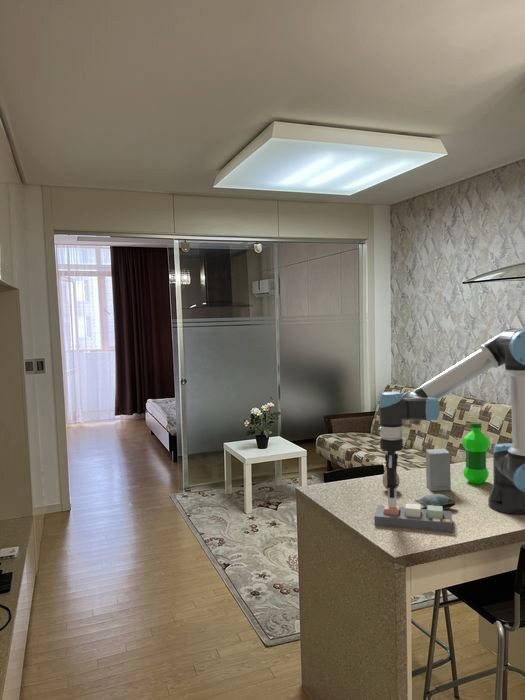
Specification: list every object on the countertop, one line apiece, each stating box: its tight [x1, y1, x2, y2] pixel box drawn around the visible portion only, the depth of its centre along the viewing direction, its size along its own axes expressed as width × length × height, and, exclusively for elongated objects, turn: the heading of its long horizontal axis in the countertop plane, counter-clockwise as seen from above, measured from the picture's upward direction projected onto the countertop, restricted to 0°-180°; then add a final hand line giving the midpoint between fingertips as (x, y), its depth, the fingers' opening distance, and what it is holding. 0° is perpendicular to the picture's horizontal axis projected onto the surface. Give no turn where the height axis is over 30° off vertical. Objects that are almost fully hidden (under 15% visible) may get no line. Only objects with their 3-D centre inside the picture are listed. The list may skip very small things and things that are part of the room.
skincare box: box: [425, 448, 452, 492], centre depth 213 cm, size 8×7×16 cm
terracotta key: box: [384, 503, 401, 515], centre depth 181 cm, size 5×5×4 cm
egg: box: [381, 469, 400, 491], centre depth 212 cm, size 7×7×9 cm
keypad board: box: [373, 504, 453, 533], centre depth 179 cm, size 25×11×3 cm, turn 72°
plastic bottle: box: [462, 421, 490, 485], centre depth 220 cm, size 10×10×25 cm
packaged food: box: [414, 493, 457, 510], centre depth 192 cm, size 9×12×5 cm
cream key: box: [405, 502, 422, 517], centre depth 179 cm, size 5×5×4 cm
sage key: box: [426, 505, 444, 519], centre depth 177 cm, size 5×5×4 cm
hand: (392, 505), depth 181 cm, fingers closed
